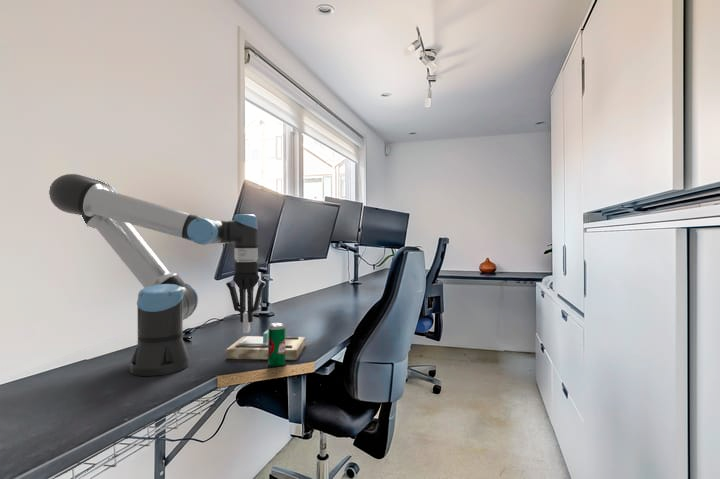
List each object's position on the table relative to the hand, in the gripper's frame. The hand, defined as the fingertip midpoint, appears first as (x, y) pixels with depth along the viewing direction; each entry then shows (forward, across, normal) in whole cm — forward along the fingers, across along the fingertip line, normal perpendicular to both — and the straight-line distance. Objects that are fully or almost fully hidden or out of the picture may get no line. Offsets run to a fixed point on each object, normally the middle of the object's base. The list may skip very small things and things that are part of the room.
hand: (246, 331), depth 130 cm
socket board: (+7, +7, 0) cm, 10 cm away
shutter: (+3, +3, 0) cm, 5 cm away
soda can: (+7, +13, -13) cm, 20 cm away
